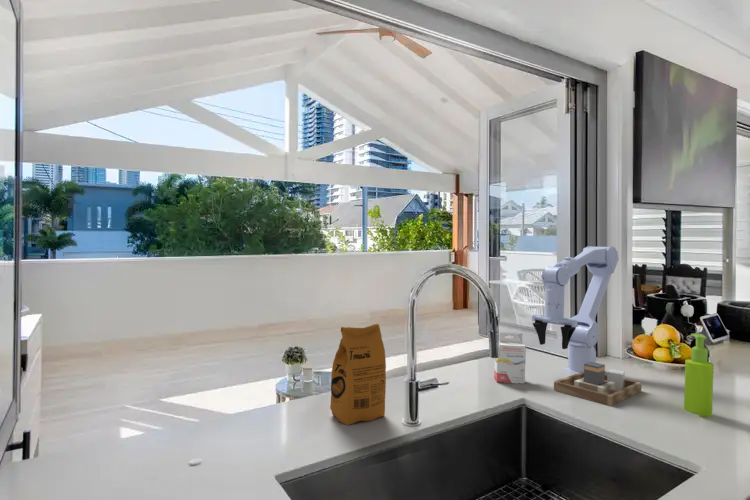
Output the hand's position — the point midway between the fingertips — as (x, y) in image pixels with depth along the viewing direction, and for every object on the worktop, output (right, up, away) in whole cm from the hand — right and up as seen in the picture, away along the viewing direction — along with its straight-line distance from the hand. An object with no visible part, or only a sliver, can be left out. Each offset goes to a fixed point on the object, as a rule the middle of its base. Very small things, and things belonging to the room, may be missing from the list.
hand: (553, 346), depth 147 cm
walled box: (+7, -10, -15) cm, 19 cm away
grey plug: (+13, -10, -13) cm, 21 cm away
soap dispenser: (+26, -11, -29) cm, 40 cm away
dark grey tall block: (+5, -10, -16) cm, 20 cm away
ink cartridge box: (-16, -10, -5) cm, 19 cm away
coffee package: (-61, -10, -36) cm, 72 cm away
